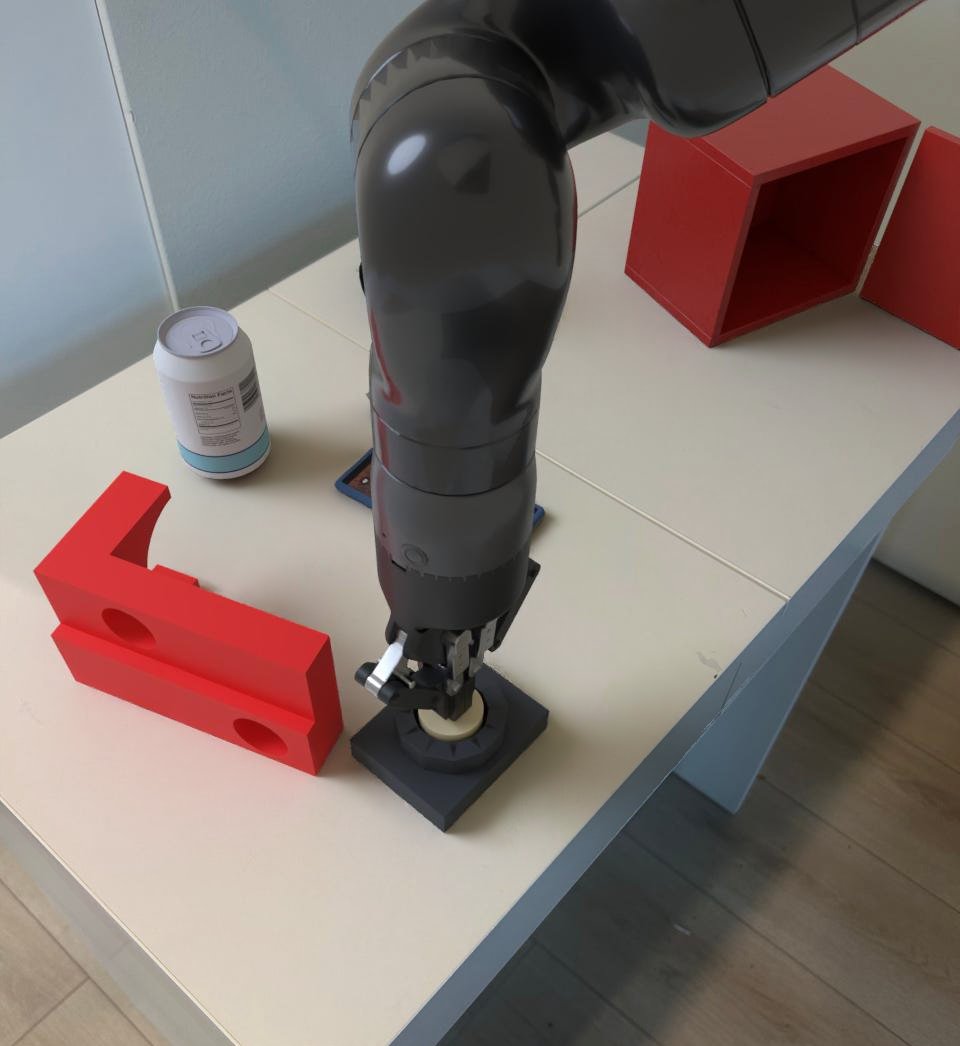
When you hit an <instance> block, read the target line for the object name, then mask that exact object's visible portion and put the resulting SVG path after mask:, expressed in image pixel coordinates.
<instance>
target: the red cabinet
mask: <svg viewBox="0 0 960 1046" xmlns="http://www.w3.org/2000/svg"><path fill="white" fill-rule="evenodd" d="M921 124H922V120H921V119H918V118H917V117H915V116H914V115H912V114H910V113H909V112H907V111H906V110H904V109H902V108H900V107H899V106H898V105H896V104H895V103H892V102H891V101H889V100H887V99H886V98H884V97H883V96H881V95H879V94H878V93H877V92H874V91H872V90H871V89H869V88H867V87H866V86H865V85H863V84H861V83H859V82H858V81H856V80H855V79H853V78H851V77H849V76H848V75H846V74H845V73H843V72H841V71H840V70H838V69H836V68H834V67H833V66H831V65H830V64H827V65H825V66H824V67H822V68H821V69H819V70H818V71H816V72H814V73H813V74H811V75H810V76H808V77H807V78H805V79H803V80H802V81H800V82H799V83H797V84H796V85H794V86H792V87H791V88H789V89H788V90H786V91H785V92H783V93H781V94H780V95H778V96H777V97H775V98H773V99H772V98H769V97H768V101H767V103H766V104H764V105H763V106H761V107H760V108H758V109H756V110H755V111H753V112H751V113H750V114H748V115H746V116H745V117H743V118H741V119H740V120H738V121H736V122H734V123H733V124H731V125H729V126H727V127H725V128H723V129H721V130H719V131H717V132H714V133H712V134H710V135H707V136H704V137H700V138H680V137H677V136H674V135H672V134H670V133H669V132H667V131H665V130H664V129H662V128H661V127H660V126H658V125H657V124H656V123H654V122H653V121H652V120H649V122H648V129H647V135H646V140H645V147H644V152H643V156H642V157H643V158H642V166H641V168H640V169H641V170H640V175H639V181H638V188H637V193H636V200H635V206H634V211H633V218H632V222H631V227H630V228H631V229H630V236H629V239H628V246H627V251H626V252H627V253H626V259H625V265H624V270H623V272H624V274H625V275H626V276H627V277H628V278H629V279H630V280H632V282H634V283H635V284H636V285H637V286H638V287H639V288H641V289H642V290H643V291H644V292H645V293H646V294H647V295H649V297H651V298H652V299H653V300H654V301H655V302H656V303H658V304H659V306H661V307H662V308H663V309H664V310H665V311H666V312H668V313H669V314H670V315H671V316H672V317H673V318H674V319H676V321H678V322H679V323H680V324H681V325H682V326H683V327H684V328H686V330H688V331H689V332H690V333H691V334H692V335H694V336H695V337H696V338H697V339H698V340H699V341H700V342H701V343H702V344H704V345H705V346H706V348H708V349H710V348H712V347H715V346H718V345H721V344H723V343H725V342H728V341H730V340H733V339H735V338H738V337H740V336H743V335H745V334H748V333H751V332H753V331H756V330H758V329H761V328H764V327H765V326H769V325H771V324H774V323H776V322H779V321H781V320H784V319H787V318H789V317H791V316H794V315H797V314H799V313H802V312H805V311H807V310H809V309H811V308H815V307H817V306H820V305H823V304H825V303H828V302H830V301H832V300H835V299H838V298H840V297H843V296H845V295H847V294H850V293H853V292H855V291H856V290H857V288H858V285H859V282H860V280H861V278H862V275H863V272H864V270H865V267H866V264H867V263H868V259H869V257H870V254H871V252H872V249H873V247H874V244H875V241H876V239H877V237H878V234H879V231H880V229H881V226H882V223H883V221H884V218H885V216H886V213H887V211H888V208H889V207H890V203H891V201H892V199H893V196H894V194H895V191H896V189H897V186H898V183H899V180H900V178H901V176H902V173H903V170H904V167H905V166H906V163H907V161H908V158H909V155H910V152H911V149H912V147H913V144H914V143H915V139H916V136H917V133H918V132H919V130H920V127H921Z"/></svg>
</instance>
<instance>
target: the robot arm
mask: <svg viewBox="0 0 960 1046" xmlns="http://www.w3.org/2000/svg"><path fill="white" fill-rule="evenodd" d="M928 1H929V0H424V1H423V2H421V3H420V4H418V5H417V6H416V7H414V8H413V9H412V10H411V11H410V12H409V13H407V14H406V15H405V16H404V17H403V18H402V19H401V20H400V21H399V22H398V23H397V24H396V25H395V26H393V27H392V29H391V30H390V31H389V32H388V33H387V34H386V35H384V37H383V38H382V40H381V41H380V42H378V43H377V44H378V45H376V47H375V48H374V50H373V51H372V52H371V53H370V55H369V56H368V58H367V59H366V60H365V63H364V65H363V67H362V69H361V70H360V72H359V74H358V76H357V79H356V81H355V84H354V87H353V91H352V94H351V99H350V104H349V112H348V113H349V114H348V129H349V130H348V131H349V145H350V146H349V147H350V154H351V156H350V157H351V167H352V180H353V189H354V190H353V191H354V194H353V195H354V204H355V206H354V207H355V215H356V227H357V235H358V245H359V254H360V263H362V271H363V280H364V288H365V295H364V297H365V296H366V297H365V303H366V311H367V319H368V325H369V331H370V332H369V333H370V338H371V343H370V347H369V357H368V358H369V359H368V392H369V397H370V400H369V408H370V409H369V410H370V421H371V436H372V437H371V438H372V447H373V454H372V462H371V473H370V476H371V498H372V508H371V509H372V521H373V523H372V524H373V532H374V546H375V547H374V548H375V557H376V569H377V570H376V571H377V578H378V583H379V587H380V589H381V592H382V594H383V596H384V599H385V601H386V603H387V606H388V608H389V612H390V614H389V618H388V620H387V621H388V622H387V624H386V627H385V630H384V638H385V641H386V643H387V645H388V648H387V649H386V651H385V652H384V653H383V655H382V656H380V657H378V659H377V661H376V662H373V661H366V662H364V663H362V664H361V665H360V666H359V667H358V669H357V670H356V671H355V674H354V676H353V677H354V679H353V680H354V681H355V682H356V683H357V684H359V685H360V686H361V687H363V688H364V689H365V690H366V691H368V692H369V693H370V694H371V695H372V696H374V697H375V698H376V699H378V700H379V701H380V702H382V704H384V705H385V706H388V707H389V708H405V709H423V710H431V709H432V710H433V711H434V712H435V713H437V714H438V715H439V716H441V717H442V718H443V719H444V720H447V719H448V718H449V719H450V720H452V721H454V722H455V721H457V720H458V719H459V718H460V717H461V716H462V715H463V714H464V713H465V712H466V711H467V710H468V709H469V708H470V707H471V706H472V695H473V693H474V690H475V678H476V674H477V673H478V672H479V671H480V670H481V667H482V665H483V662H484V658H485V653H486V652H487V651H489V652H490V653H494V652H496V651H497V650H498V649H499V648H500V647H501V645H502V643H503V641H504V639H506V636H507V634H508V632H509V630H510V628H511V626H512V625H513V622H514V621H515V619H516V618H517V615H518V614H519V611H520V609H521V607H522V606H523V604H524V602H525V600H526V599H527V598H526V597H527V596H528V594H529V593H530V590H531V588H532V587H533V585H534V583H535V581H536V579H537V578H538V576H539V574H540V571H541V569H542V566H541V564H540V563H538V562H537V561H536V560H534V559H533V558H532V557H530V550H531V543H532V542H531V541H532V533H533V529H532V525H533V515H534V506H535V504H536V497H537V487H538V485H537V484H538V471H537V459H536V445H537V437H538V428H539V418H540V409H541V401H542V400H541V399H542V383H543V382H542V381H543V367H544V366H545V364H546V361H547V359H548V357H549V354H550V353H551V349H552V346H553V343H554V339H555V336H556V334H557V330H558V327H559V325H560V322H561V321H560V320H561V317H562V314H563V312H564V308H565V305H566V302H567V299H568V294H569V291H570V287H571V282H572V277H573V272H574V265H575V258H576V250H577V238H578V220H579V219H578V212H579V211H578V210H579V209H578V208H579V204H578V192H577V191H578V190H577V183H576V177H575V171H574V167H573V163H572V160H571V157H570V154H569V151H570V150H571V149H573V148H575V147H577V146H579V145H581V144H584V143H585V142H587V141H590V140H592V139H595V138H597V137H600V136H601V135H604V134H605V133H607V132H608V133H609V132H610V131H612V130H614V129H617V128H619V127H622V126H623V125H626V124H629V123H631V122H633V121H636V120H649V121H650V120H652V121H653V122H654V123H656V124H657V125H658V126H660V127H661V128H662V129H664V130H665V131H667V132H669V133H670V134H672V135H674V136H677V137H680V138H700V137H704V136H707V135H710V134H712V133H714V132H717V131H719V130H721V129H723V128H725V127H727V126H729V125H731V124H733V123H734V122H736V121H738V120H740V119H741V118H743V117H745V116H746V115H748V114H750V113H751V112H753V111H755V110H756V109H758V108H760V107H761V106H763V105H764V104H766V103H767V101H768V97H769V98H772V99H773V98H775V97H777V96H778V95H780V94H781V93H783V92H785V91H786V90H788V89H789V88H791V87H792V86H794V85H796V84H797V83H799V82H800V81H802V80H803V79H805V78H807V77H808V76H810V75H811V74H813V73H814V72H816V71H818V70H819V69H821V68H822V67H824V66H825V65H827V64H828V65H830V63H833V61H835V60H837V59H838V58H839V57H841V56H843V55H844V54H846V53H848V52H849V51H851V50H853V49H854V48H855V47H857V46H859V45H860V44H862V43H864V42H865V41H866V40H868V39H870V38H871V37H873V36H874V35H876V34H877V33H879V32H881V31H883V29H885V28H887V27H888V26H890V25H891V24H893V23H895V22H896V21H898V20H899V19H901V18H902V17H904V16H906V15H907V14H909V13H910V12H912V11H913V10H915V9H916V8H919V6H921V5H923V4H925V3H926V2H928ZM409 660H410V661H414V662H417V670H416V671H415V670H414V669H412V668H411V667H408V663H409Z"/></svg>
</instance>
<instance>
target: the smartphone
mask: <svg viewBox="0 0 960 1046" xmlns="http://www.w3.org/2000/svg"><path fill="white" fill-rule="evenodd" d="M372 454H373V446H372V447H371V448H370V449H369V450H367V452H366V453H365V454H364V455H362V456H361V457H360V458H359V459H358V460H357V461H356V462H355V463H353V464H352V465H351V466H350V467H349V468H348V469H347V470H346V471H344V473H343V474H342V475H340V476H339V477H338V478H337V479H336V480H335V482H334V488H335V490H337V492H340V493H341V494H343V495H346V496H347V497H350V498H351V499H353V500H355V501H357V502H358V503H361V504H362V505H364V506H365V507H368V508H370V509H372V498H371V476H370V473H371V462H372ZM545 514H546V510H545V508H544V507H543V506H541V505H539V504H538V503H535V506H534V515H533V525H532V530H534V528H535V527H536V526H537V525H538V524H539V523H540V521H541V520H542V519H543V518H544V517H545Z"/></svg>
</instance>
